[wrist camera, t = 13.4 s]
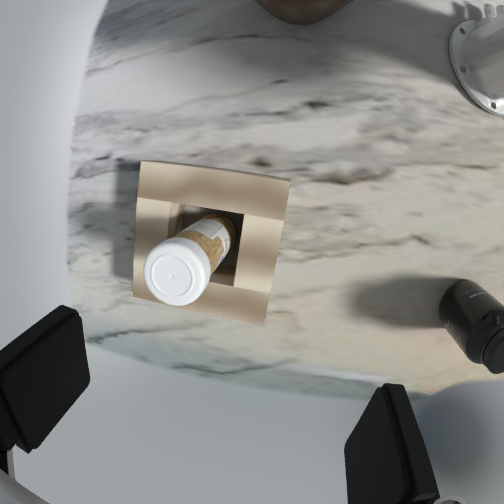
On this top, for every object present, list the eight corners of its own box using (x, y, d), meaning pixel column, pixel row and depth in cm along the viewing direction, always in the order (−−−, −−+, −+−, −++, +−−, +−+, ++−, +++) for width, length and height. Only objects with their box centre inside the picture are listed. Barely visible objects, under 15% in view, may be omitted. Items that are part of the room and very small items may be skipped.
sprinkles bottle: (229, 260, 34) (194, 317, 21) (190, 245, 34) (135, 293, 21) (242, 220, 32) (212, 258, 20) (202, 206, 33) (148, 233, 20)
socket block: (159, 160, 32) (141, 161, 27) (290, 179, 31) (290, 182, 26) (149, 281, 36) (133, 296, 31) (266, 305, 35) (263, 325, 30)
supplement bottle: (468, 267, 31) (525, 309, 19) (486, 304, 32) (535, 350, 20) (428, 303, 33) (473, 358, 21) (448, 337, 34) (489, 393, 22)
